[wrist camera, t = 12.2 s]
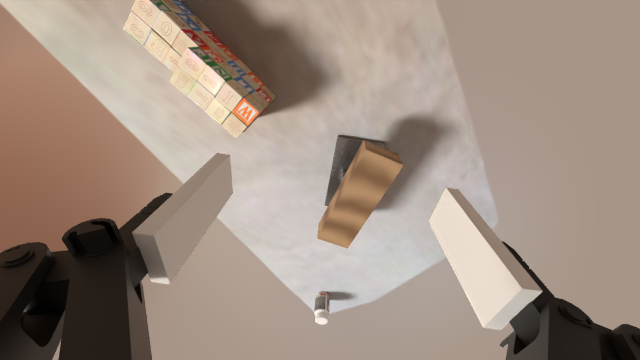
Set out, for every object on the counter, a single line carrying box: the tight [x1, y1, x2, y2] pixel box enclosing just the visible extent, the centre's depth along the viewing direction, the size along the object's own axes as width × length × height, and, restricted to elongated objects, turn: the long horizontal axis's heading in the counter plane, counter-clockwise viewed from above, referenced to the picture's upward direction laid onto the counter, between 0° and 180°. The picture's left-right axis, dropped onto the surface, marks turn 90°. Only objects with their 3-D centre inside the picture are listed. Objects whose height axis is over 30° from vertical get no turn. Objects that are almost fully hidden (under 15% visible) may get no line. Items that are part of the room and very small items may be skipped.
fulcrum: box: [325, 136, 385, 206], centre depth 50 cm, size 18×10×7 cm, turn 172°
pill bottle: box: [314, 292, 329, 324], centre depth 75 cm, size 5×5×8 cm
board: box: [317, 140, 404, 248], centre depth 45 cm, size 22×7×4 cm, turn 158°
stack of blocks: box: [123, 0, 276, 138], centre depth 38 cm, size 21×6×12 cm, turn 44°
